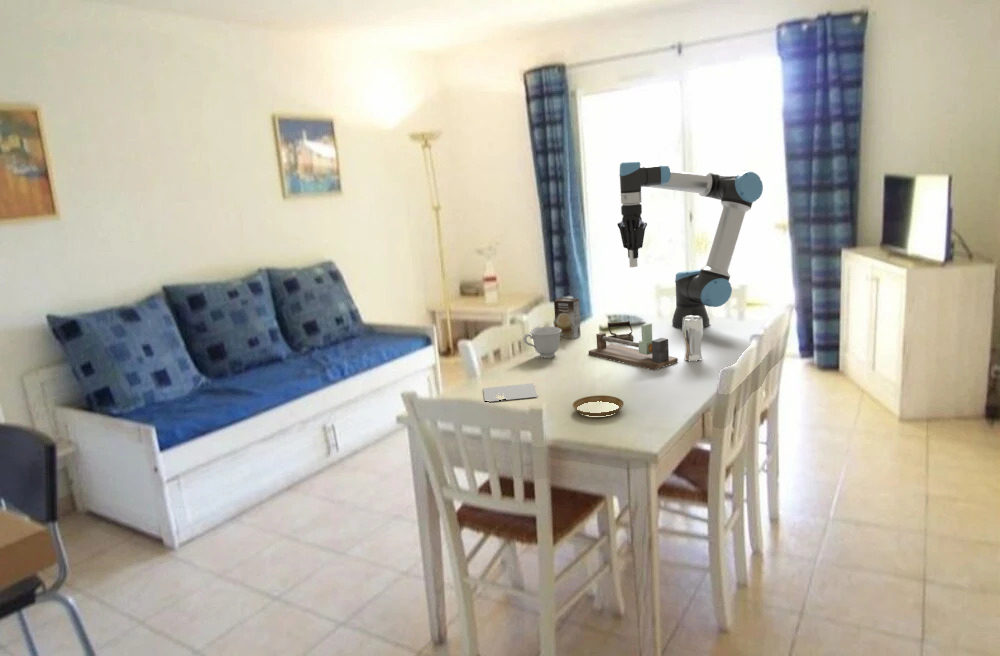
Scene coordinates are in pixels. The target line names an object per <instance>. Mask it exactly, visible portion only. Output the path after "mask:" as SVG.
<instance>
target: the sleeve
mask: <svg viewBox="0 0 1000 656" xmlns="http://www.w3.org/2000/svg"><path fill="white" fill-rule="evenodd" d="M653 340H654V339H653V323H651V322H647V323H644V324H641V340H639V341H638V343H639V347H638V350H639V353H640V354H645V355H649V354H652V352H650V351H649V349H648V348H649V345H650V344H652V341H653Z"/></svg>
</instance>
